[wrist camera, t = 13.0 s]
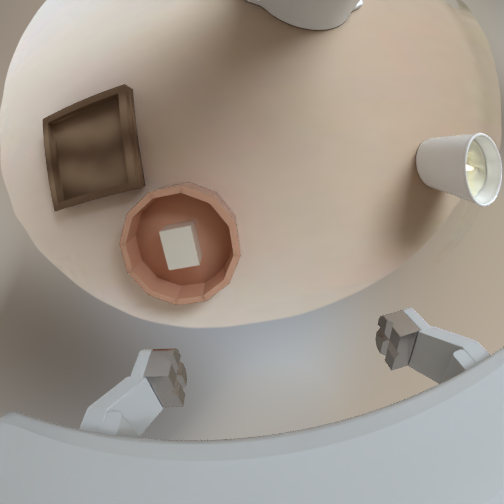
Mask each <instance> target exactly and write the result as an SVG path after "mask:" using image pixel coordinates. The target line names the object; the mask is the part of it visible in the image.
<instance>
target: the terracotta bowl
mask: <svg viewBox="0 0 504 504" xmlns="http://www.w3.org/2000/svg"><path fill="white" fill-rule="evenodd" d="M190 220H195V224H196V229H197V234H198V238H199V243H200V247H201V252H202V259H201V262H200V265H197V266H191V267H185V268H179V269H174V270H169V269H168V265H167V262H166V258H165V254H164V250H163V246H162V243H161V239H160V234H159V231H160V230H161V229H162V228H163V227H164V226H165V225H169V224H174V223H179V222H184V221H190ZM120 247H121V251H122V254H123V258H124V261H125V265H126V268H127V272H128V273H129V275H130V276H131V277H132V278H133V279H134V280H135V281H136V282H137V283H138V284H139V285H140V286H141V287H142V289H143V290H144V291H145V292H146V293H147V294H148V295H151V296H153V297H156V298H159V299H161V300H164V301H167V302H170V303H172V304H175V305H179V304H188V303H195V302H203V301H206V300H208V299H209V298H210V297H212V296H213V295H215V294H216V293H217V292H219V291H220V290H221V289H223V288H224V287H225V286H227V285H228V284H229V283H230V280H231V278H232V275H233V273H234V271H235V268H236V266H237V263H238V261H239V258H240V256H241V254H240V243H239V237H238V231H237V224H236V218H235V215H234V213H233V212H232V211H231V210H230V208H229V207H228V206H227V205H226V204H225V202H224V201H223V200H222V199H221V197H220V196H219V195H218V194H217V193H216V192H214V191H211V190H208V189H206V188H203V187H200V186H197V185H195V184H192V183H189V182H188V183H182V184H177V185H172V186H167V187H162V188H159V189H156V190H154V191H151V192H149V193H148V194H147V195H146V196H145V197H144V198H143V199H142V200H141V201H140V202H139V203H138V204H137V205H136V206H135V207H133V208H132V209H131V210H130V211H129V212H128V213H127V216H126V219H125V223H124V227H123V231H122V235H121V240H120Z"/></svg>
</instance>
